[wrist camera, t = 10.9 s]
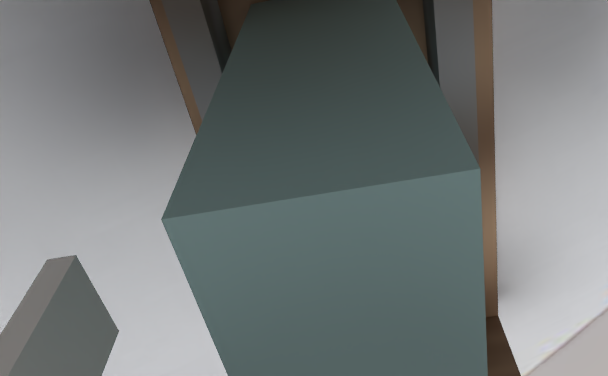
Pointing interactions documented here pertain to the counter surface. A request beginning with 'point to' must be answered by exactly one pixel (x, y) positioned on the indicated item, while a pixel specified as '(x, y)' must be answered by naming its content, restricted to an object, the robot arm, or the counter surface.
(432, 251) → the door panel
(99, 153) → the counter surface
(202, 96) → the wooden book rack
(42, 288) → the robot arm
